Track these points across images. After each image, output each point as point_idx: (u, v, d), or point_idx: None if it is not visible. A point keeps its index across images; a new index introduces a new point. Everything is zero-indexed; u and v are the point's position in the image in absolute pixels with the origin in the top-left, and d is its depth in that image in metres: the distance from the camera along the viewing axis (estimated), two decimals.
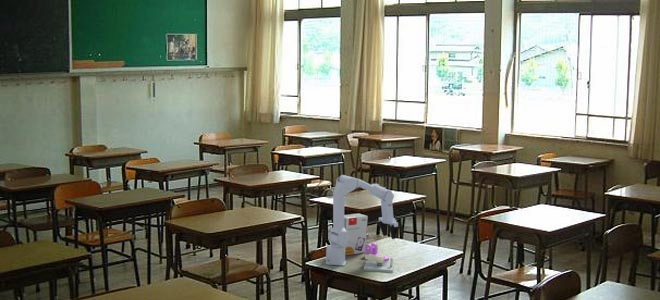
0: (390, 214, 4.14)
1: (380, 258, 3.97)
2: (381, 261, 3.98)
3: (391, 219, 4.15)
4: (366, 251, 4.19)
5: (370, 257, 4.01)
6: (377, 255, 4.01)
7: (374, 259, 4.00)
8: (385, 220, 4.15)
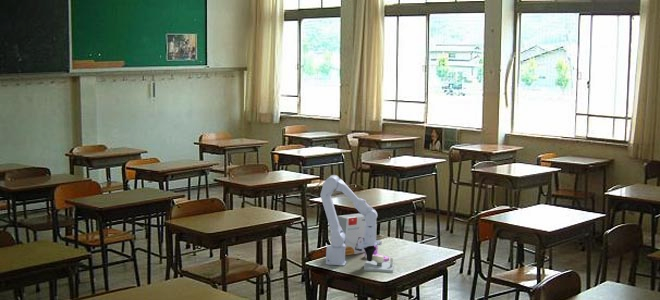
0: (366, 236, 3.98)
1: (380, 258, 3.97)
2: (381, 261, 3.97)
3: (366, 241, 3.98)
4: None
5: None
6: (377, 255, 4.01)
7: (374, 259, 4.00)
8: None
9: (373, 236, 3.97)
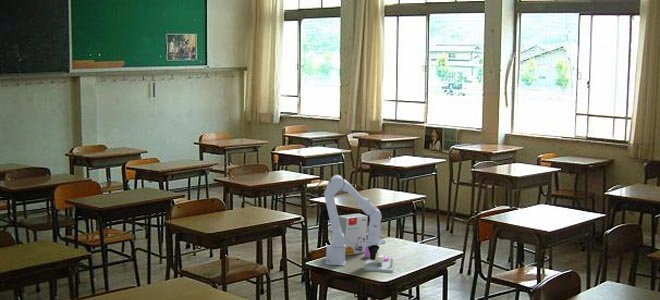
0: (370, 235, 4.01)
1: (377, 258, 3.97)
2: (378, 261, 3.97)
3: (370, 240, 4.01)
4: (366, 251, 4.19)
5: None
6: (380, 255, 4.01)
7: None
8: None
9: (377, 235, 4.00)
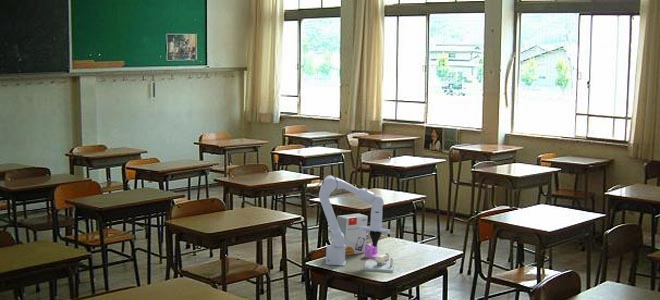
0: None
1: None
2: (376, 260, 3.98)
3: None
4: (366, 251, 4.19)
5: None
6: (382, 255, 4.00)
7: None
8: None
9: (373, 221, 4.00)
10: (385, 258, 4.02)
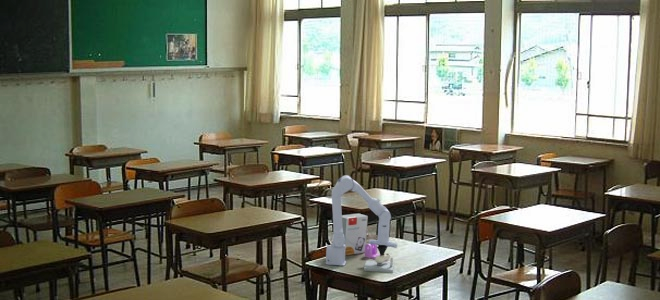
0: None
1: None
2: (376, 260, 3.98)
3: None
4: (366, 251, 4.19)
5: None
6: (382, 255, 4.00)
7: None
8: None
9: (380, 235, 4.01)
10: (385, 258, 4.02)
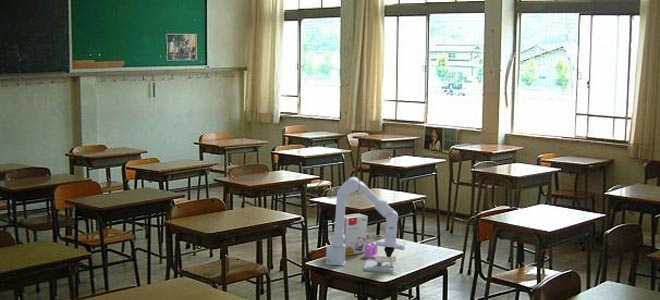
0: None
1: None
2: None
3: None
4: (366, 251, 4.19)
5: None
6: (383, 256, 3.98)
7: None
8: None
9: (387, 237, 3.98)
10: (388, 260, 3.98)
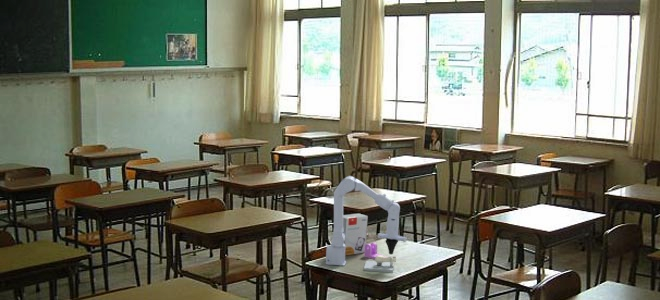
0: None
1: None
2: None
3: None
4: (366, 251, 4.19)
5: None
6: (383, 256, 3.98)
7: None
8: None
9: (389, 229, 3.97)
10: (388, 260, 3.98)
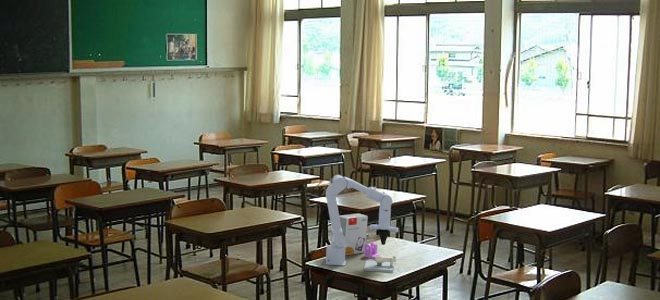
0: None
1: None
2: None
3: None
4: (365, 251, 4.19)
5: None
6: (383, 256, 3.98)
7: None
8: None
9: (381, 219, 4.02)
10: (388, 260, 3.98)
